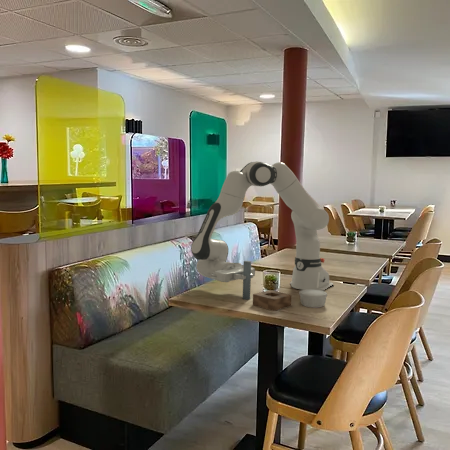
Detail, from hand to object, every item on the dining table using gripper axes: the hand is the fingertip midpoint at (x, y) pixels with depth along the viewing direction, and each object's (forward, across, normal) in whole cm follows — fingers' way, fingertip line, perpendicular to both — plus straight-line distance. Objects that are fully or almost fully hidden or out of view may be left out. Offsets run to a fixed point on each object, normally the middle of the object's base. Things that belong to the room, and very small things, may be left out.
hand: (248, 276), depth 195 cm
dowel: (-1, 0, +10) cm, 10 cm away
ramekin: (+23, +14, +10) cm, 29 cm away
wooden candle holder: (+13, 0, +10) cm, 16 cm away
